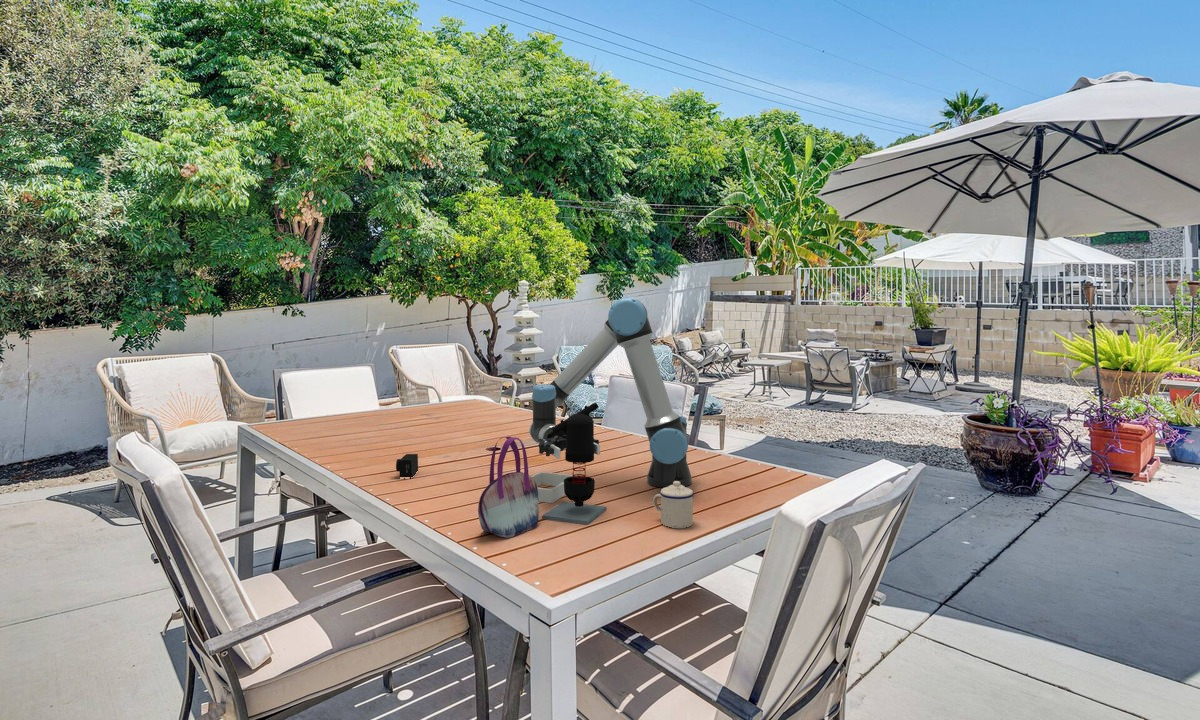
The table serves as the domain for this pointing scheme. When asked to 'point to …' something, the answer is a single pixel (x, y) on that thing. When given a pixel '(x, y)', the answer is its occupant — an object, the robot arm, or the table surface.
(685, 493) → the teacup with lid
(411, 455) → the digital camera
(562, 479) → the white open rectangular box
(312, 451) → the table surface
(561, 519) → the slate mat
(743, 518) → the table surface
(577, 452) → the filter
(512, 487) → the handbag
